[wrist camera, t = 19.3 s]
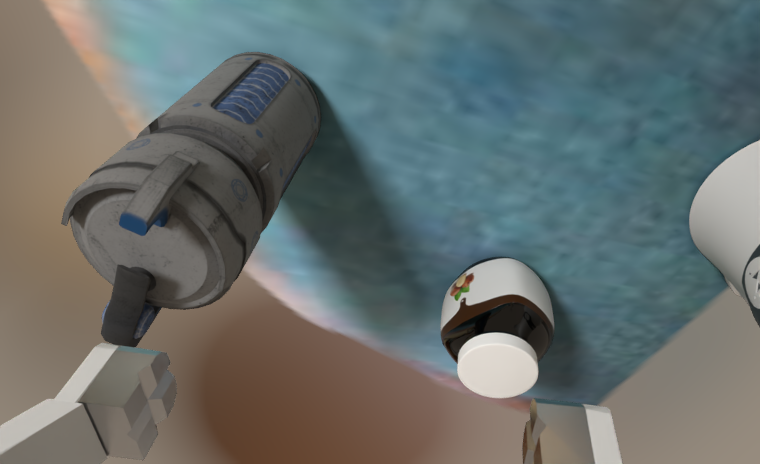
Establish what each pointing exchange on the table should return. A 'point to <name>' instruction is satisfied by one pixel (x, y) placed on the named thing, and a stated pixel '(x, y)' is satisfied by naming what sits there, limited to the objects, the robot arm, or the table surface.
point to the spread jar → (497, 326)
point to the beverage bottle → (194, 191)
